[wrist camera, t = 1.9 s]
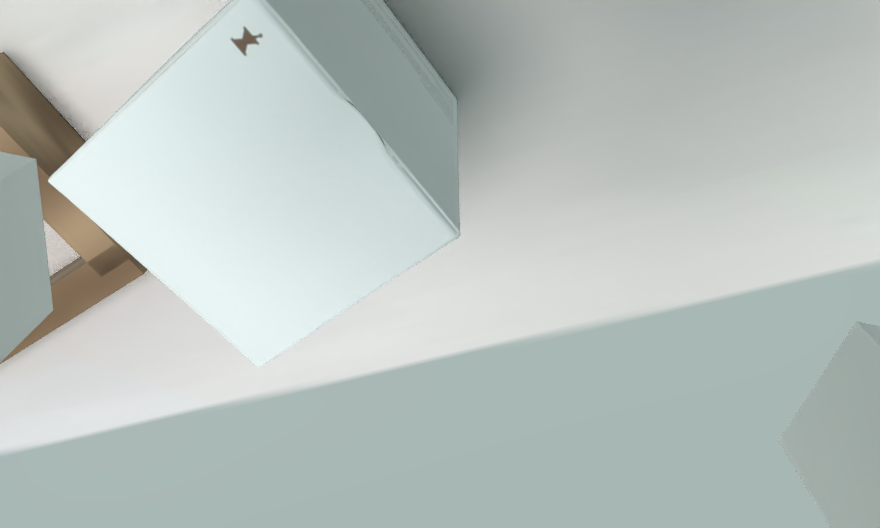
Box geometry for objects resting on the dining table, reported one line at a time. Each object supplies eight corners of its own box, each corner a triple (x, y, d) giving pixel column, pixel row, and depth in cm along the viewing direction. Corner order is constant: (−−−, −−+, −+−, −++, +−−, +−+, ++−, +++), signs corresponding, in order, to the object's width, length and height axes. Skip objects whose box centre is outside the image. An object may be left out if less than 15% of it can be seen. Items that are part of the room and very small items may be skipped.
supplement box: (208, 66, 31) (27, 177, 18) (344, -57, 28) (247, -31, 15) (331, 202, 35) (254, 379, 21) (463, 104, 32) (468, 238, 19)
